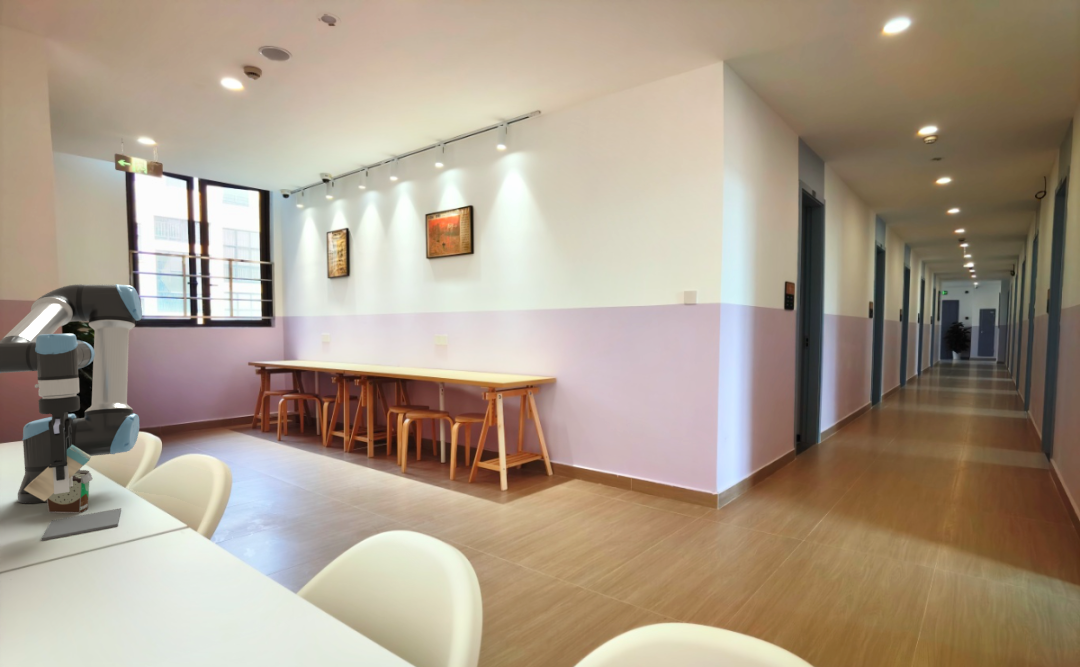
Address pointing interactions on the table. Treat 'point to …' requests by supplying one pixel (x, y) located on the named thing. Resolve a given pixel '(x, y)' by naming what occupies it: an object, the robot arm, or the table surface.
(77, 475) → the food container
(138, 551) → the table surface
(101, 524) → the charcoal mat
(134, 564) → the table surface
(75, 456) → the maple block
